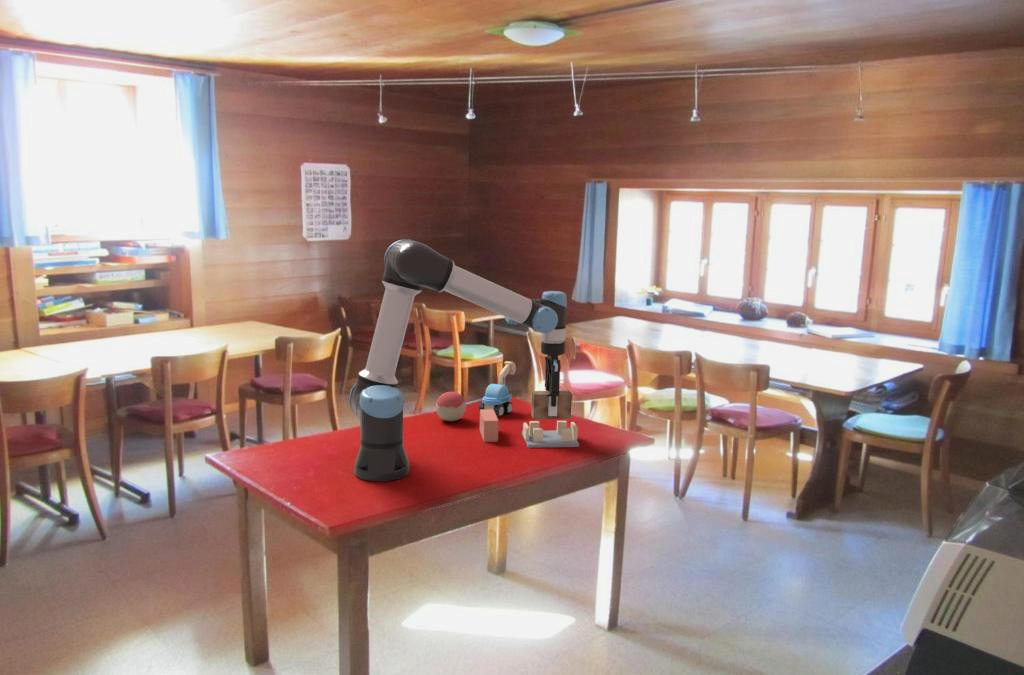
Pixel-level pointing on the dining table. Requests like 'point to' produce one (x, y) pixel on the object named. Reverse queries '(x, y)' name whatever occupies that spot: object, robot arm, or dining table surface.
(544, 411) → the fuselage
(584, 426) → the dining table surface
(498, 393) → the toy excavator
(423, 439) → the dining table surface
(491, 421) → the salmon pink block
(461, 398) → the toy
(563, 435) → the jig
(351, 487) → the dining table surface
